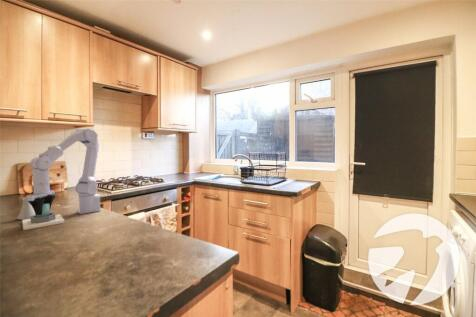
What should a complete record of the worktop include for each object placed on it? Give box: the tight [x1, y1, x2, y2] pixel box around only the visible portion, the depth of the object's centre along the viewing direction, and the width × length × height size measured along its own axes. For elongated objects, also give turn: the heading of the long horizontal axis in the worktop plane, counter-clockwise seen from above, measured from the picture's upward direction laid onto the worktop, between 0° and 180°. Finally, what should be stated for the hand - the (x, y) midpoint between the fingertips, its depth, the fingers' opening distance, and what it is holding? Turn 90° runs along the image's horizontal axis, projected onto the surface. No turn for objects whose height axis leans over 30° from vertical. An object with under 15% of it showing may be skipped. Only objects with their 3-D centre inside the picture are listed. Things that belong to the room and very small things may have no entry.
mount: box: [22, 212, 65, 231], centre depth 111 cm, size 14×14×3 cm
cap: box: [36, 203, 51, 217], centre depth 111 cm, size 5×5×6 cm
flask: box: [16, 196, 36, 221], centre depth 118 cm, size 7×7×10 cm
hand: (42, 213), depth 111 cm, fingers closed on cap, 5 cm apart
